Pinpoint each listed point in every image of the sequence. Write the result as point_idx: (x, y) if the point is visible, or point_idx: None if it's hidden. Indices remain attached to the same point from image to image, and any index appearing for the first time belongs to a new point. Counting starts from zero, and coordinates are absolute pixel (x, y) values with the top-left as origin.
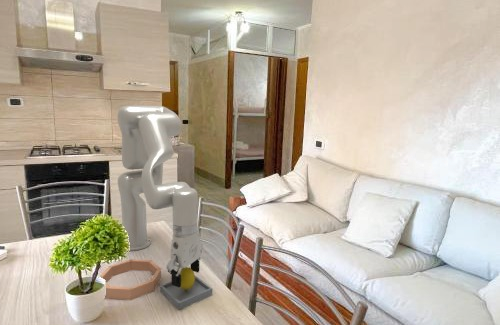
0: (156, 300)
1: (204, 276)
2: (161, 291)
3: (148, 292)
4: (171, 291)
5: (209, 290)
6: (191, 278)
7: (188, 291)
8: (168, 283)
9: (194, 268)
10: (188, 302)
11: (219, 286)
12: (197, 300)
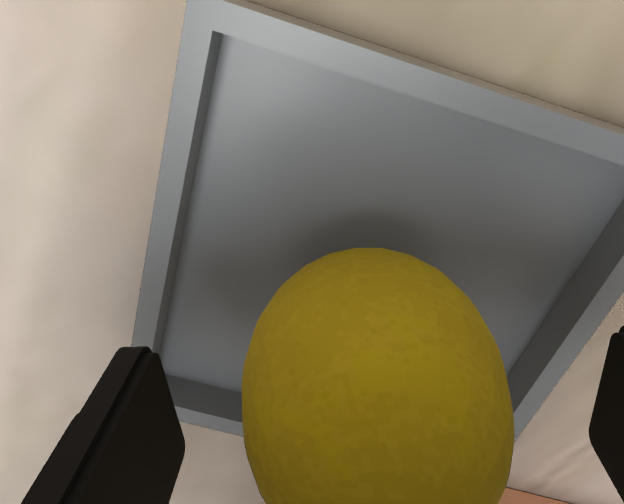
0: (581, 396)
1: (24, 296)
2: None
3: (516, 493)
4: None
5: (246, 5)
6: (404, 316)
7: None
8: None
9: (155, 437)
10: (566, 111)
11: (17, 28)
12: (434, 65)
